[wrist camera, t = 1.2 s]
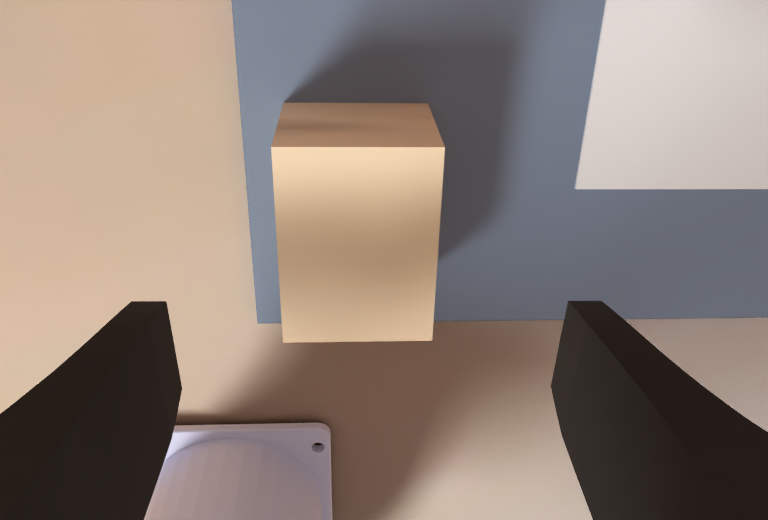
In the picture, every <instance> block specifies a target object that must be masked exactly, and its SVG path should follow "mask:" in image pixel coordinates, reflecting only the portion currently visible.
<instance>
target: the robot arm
mask: <svg viewBox="0 0 768 520" xmlns="http://www.w3.org/2000/svg"><path fill="white" fill-rule="evenodd" d="M551 388H552V393H553V398H554V402H555V407H556V412H557V416H558V420H559V425H560V429H561V433H562V437H563V439H564V442H565V445H566V448H567V451H568V453H569V456H570V459H571V462H572V464H573V467H574V470H575V473H576V475H577V478H578V481H579V483H580V486H581V489H582V491H583V494H584V497H585V499H586V502H587V505H588V507H589V510H590V513H591V515H592V518H593V520H768V432H767V431H765V430H763V429H762V428H760V427H759V426H757V425H756V424H754V423H753V422H751V421H750V420H748V419H747V418H745V417H744V416H743V415H741V414H740V413H738V412H737V411H735V410H734V409H733V408H731V407H730V406H729V405H727V404H726V403H725V402H723V401H722V400H721V399H719V398H718V397H717V396H715V395H714V394H713V393H711V392H710V391H709V390H707V389H706V388H704V387H703V386H702V385H701V384H699V383H698V382H697V381H696V380H694V379H693V378H692V377H691V376H689V375H688V374H687V373H686V372H684V371H683V370H682V369H681V368H679V367H678V366H677V365H676V364H675V363H673V362H672V361H671V360H670V359H669V358H668V357H666V356H665V355H664V354H663V353H662V352H660V351H659V350H658V349H657V348H656V347H655V346H653V345H652V344H651V343H650V342H649V341H648V340H647V339H645V338H644V337H643V336H642V335H641V334H640V333H639V332H637V331H636V330H635V329H634V328H633V327H632V326H631V325H629V324H628V323H627V322H626V321H625V320H624V319H623V318H621V317H620V316H619V315H618V314H617V313H616V312H615V311H613V310H612V309H611V308H610V307H609V306H607V305H606V304H605V303H604V302H602V301H568V304H567V309H566V314H565V319H564V324H563V329H562V334H561V339H560V344H559V349H558V354H557V359H556V364H555V369H554V374H553V379H552V384H551ZM181 391H182V386H181V380H180V375H179V369H178V364H177V358H176V353H175V347H174V342H173V336H172V331H171V325H170V320H169V314H168V309H167V303H166V301H157V302H130V303H129V304H128V305H127V306H126V307H125V308H123V309H122V310H121V311H120V312H119V313H118V314H117V315H116V316H115V317H114V318H112V319H111V320H110V321H109V322H108V323H107V324H106V325H105V326H104V327H103V328H102V329H101V330H99V331H98V332H97V333H96V334H95V335H94V336H93V337H92V338H91V339H90V340H89V341H87V342H86V343H85V344H84V345H83V346H82V347H81V348H80V349H78V350H77V351H76V352H75V353H74V354H73V355H72V356H71V357H69V358H68V359H67V360H66V361H65V362H64V363H63V364H61V365H60V366H59V367H58V368H57V369H56V370H55V371H53V372H52V373H51V374H50V375H49V376H47V377H46V378H45V379H44V380H42V381H41V382H40V383H39V384H37V385H36V386H35V387H34V388H32V389H31V390H30V391H29V392H27V393H26V394H25V395H24V396H22V397H21V398H20V399H19V400H18V401H16V402H15V403H14V404H13V405H11V406H10V407H9V408H8V409H6V410H5V411H4V412H2V413H1V414H0V520H332V477H331V432H330V428H329V427H328V426H327V425H325V424H323V423H273V424H223V425H175V421H176V417H177V412H178V406H179V401H180V396H181ZM314 443H322V445H319V446H318V445H315V444H314Z"/></svg>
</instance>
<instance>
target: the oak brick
mask: <svg viewBox="0 0 768 520" xmlns="http://www.w3.org/2000/svg"><path fill="white" fill-rule="evenodd" d="M271 154H272V171H273V187H274V204H275V220H276V237H277V253H278V270H279V286H280V303H281V319H282V336H283V343H296V342H370V341H432V336H433V321H434V306H435V291H436V276H437V261H438V246H439V231H440V216H441V201H442V186H443V170H444V155H445V146H444V143H443V141H442V138H441V136H440V133H439V131H438V128H437V125H436V123H435V120H434V118H433V115H432V112H431V110H430V107H429V105H428V103H283V105H282V109H281V112H280V116H279V120H278V123H277V127H276V131H275V134H274V138H273V142H272V145H271Z"/></svg>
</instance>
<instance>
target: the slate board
mask: <svg viewBox="0 0 768 520" xmlns="http://www.w3.org/2000/svg"><path fill="white" fill-rule="evenodd" d="M232 13H233V25H234V37H235V50H236V62H237V74H238V87H239V99H240V112H241V124H242V136H243V149H244V161H245V173H246V186H247V198H248V210H249V223H250V235H251V248H252V260H253V272H254V285H255V297H256V309H257V322H258V324H259V323H282V319H281V303H280V286H279V270H278V253H277V237H276V220H275V204H274V187H273V171H272V154H271V145H272V142H273V138H274V134H275V131H276V127H277V123H278V120H279V116H280V112H281V109H282V105H283V103H428V105H429V107H430V110H431V112H432V115H433V118H434V120H435V123H436V125H437V128H438V131H439V133H440V136H441V138H442V141H443V143H444V146H445V155H444V170H443V186H442V201H441V216H440V231H439V246H438V261H437V276H436V291H435V306H434V321H511V320H564V319H565V314H566V309H567V304H568V301H602V302H604V303H605V304H606V305H607V306H609V307H610V308H611V309H612V310H613V311H615V312H616V313H617V314H618V315H619V316H620V317H621V318H623V319H679V318H763V317H768V0H232Z"/></svg>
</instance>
